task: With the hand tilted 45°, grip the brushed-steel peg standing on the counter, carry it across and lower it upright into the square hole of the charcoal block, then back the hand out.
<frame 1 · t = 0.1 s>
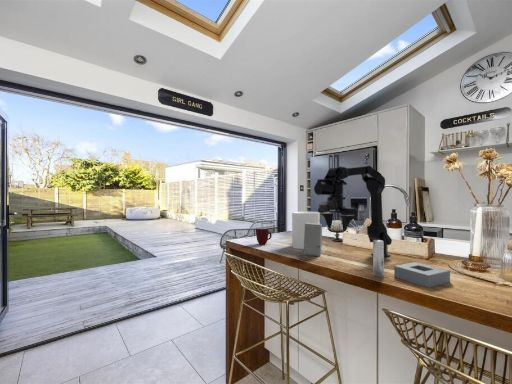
hand: (336, 229, 111), 15 cm above the countertop, tool pointing down, fingers open, 9 cm apart
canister: (305, 246, 145), on the countertop
hole block: (421, 279, 88), on the countertop
skincare box: (313, 254, 126), on the countertop
steel peg: (378, 275, 92), on the countertop
mug: (263, 244, 152), on the countertop
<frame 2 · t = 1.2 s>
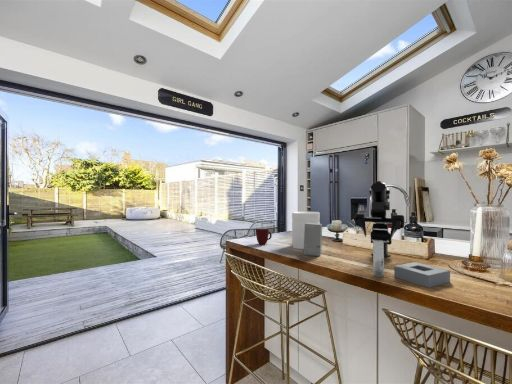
hand: (377, 236, 99), 13 cm above the countertop, tool tilted 45°, fingers open, 9 cm apart
nothing on the countertop moved.
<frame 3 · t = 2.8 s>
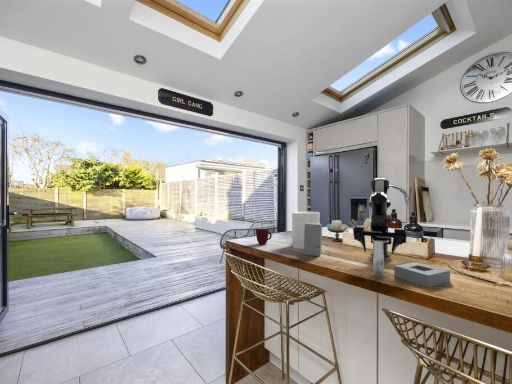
hand: (378, 252, 93), 8 cm above the countertop, tool tilted 45°, fingers open, 9 cm apart
nothing on the countertop moved.
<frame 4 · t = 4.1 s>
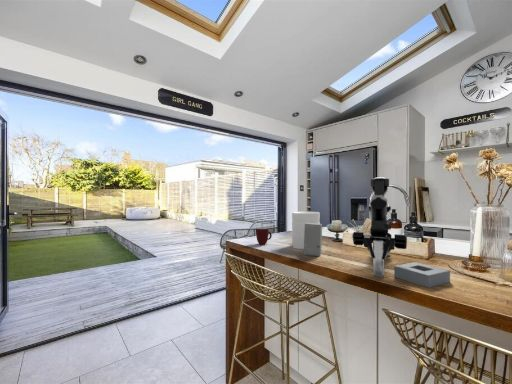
hand: (378, 258, 91), 7 cm above the countertop, tool tilted 45°, fingers closed on steel peg, 3 cm apart
steel peg: (378, 275, 92), on the countertop, touching gripper
everything else where it was.
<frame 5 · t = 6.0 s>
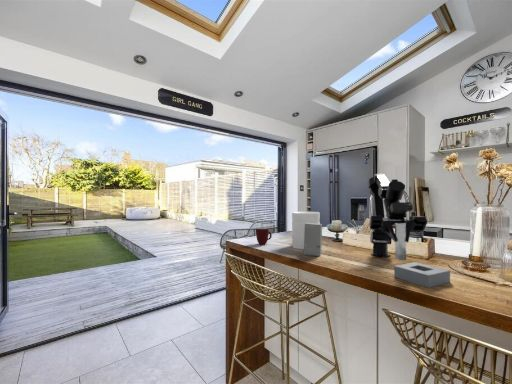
hand: (401, 241, 88), 14 cm above the countertop, tool tilted 45°, fingers closed on steel peg, 3 cm apart
steel peg: (400, 258, 90), point 7 cm above the countertop, touching gripper
everything else where it was.
when the fingers open (8 cm above the countertop, at t = 8.1 s): steel peg drops 1 cm, resting in hole block.
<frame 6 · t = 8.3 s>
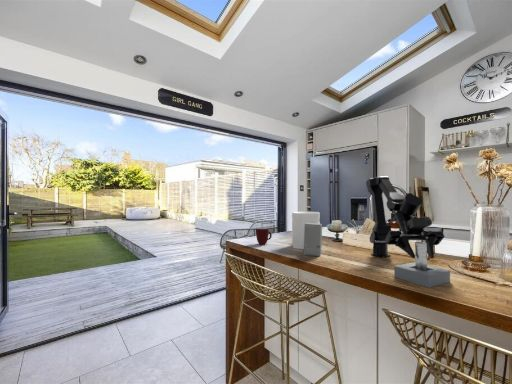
hand: (423, 257, 87), 8 cm above the countertop, tool tilted 45°, fingers open, 6 cm apart
steel peg: (421, 279, 88), resting in hole block
everything else where it was.
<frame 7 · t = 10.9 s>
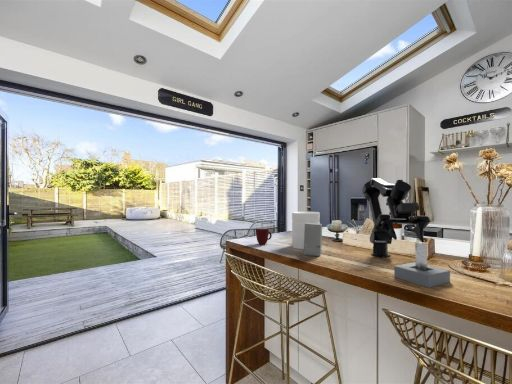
hand: (408, 239, 94), 13 cm above the countertop, tool tilted 40°, fingers open, 9 cm apart
nothing on the countertop moved.
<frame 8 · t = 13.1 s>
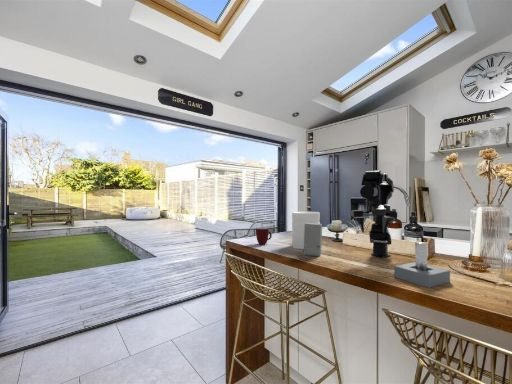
hand: (373, 232, 112), 13 cm above the countertop, tool pointing down, fingers open, 9 cm apart
nothing on the countertop moved.
at the end: steel peg 0.0 cm off-centre on the hole block, point 0.0 cm above the hole block's base; steel peg tilted 0°; the gripper is holding nothing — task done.
